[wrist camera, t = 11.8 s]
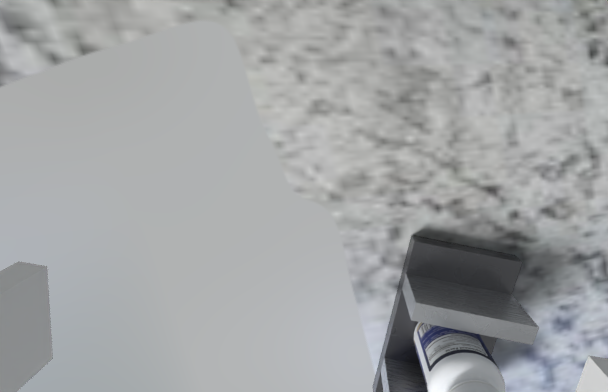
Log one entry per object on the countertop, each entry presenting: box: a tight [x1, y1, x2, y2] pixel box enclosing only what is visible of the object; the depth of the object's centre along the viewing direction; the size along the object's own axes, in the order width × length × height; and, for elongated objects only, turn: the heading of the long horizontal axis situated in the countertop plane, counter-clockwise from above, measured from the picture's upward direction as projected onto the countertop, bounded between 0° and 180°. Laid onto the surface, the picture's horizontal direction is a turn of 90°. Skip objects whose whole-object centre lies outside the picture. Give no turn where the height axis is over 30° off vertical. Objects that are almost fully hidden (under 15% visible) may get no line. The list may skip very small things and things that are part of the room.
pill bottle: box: [414, 322, 505, 392], centre depth 31 cm, size 5×5×10 cm
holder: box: [373, 236, 539, 392], centre depth 34 cm, size 16×9×6 cm, turn 170°
